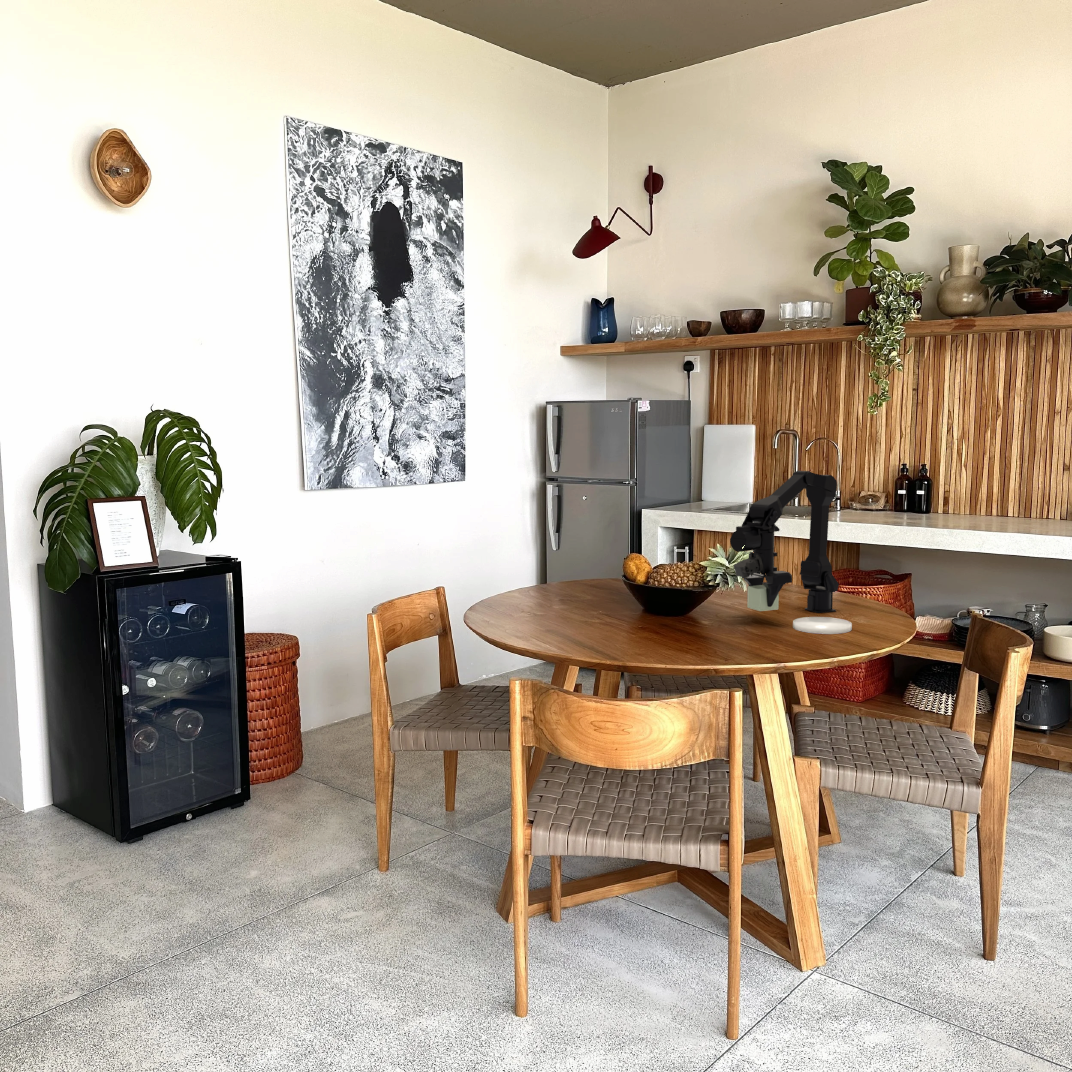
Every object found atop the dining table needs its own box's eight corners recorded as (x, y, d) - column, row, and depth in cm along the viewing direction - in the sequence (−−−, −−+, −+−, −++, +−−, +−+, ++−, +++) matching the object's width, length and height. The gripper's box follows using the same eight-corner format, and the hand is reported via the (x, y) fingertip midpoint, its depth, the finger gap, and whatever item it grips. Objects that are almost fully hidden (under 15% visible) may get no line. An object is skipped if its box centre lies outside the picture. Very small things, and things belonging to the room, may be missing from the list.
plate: (826, 620, 269) (827, 615, 269) (863, 630, 255) (864, 625, 255) (781, 625, 263) (781, 619, 263) (816, 636, 249) (816, 630, 249)
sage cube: (765, 605, 272) (765, 584, 271) (778, 609, 267) (778, 587, 266) (747, 607, 270) (747, 586, 269) (759, 611, 264) (760, 589, 264)
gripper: (719, 546, 272) (719, 601, 274) (758, 554, 255) (757, 613, 257) (753, 544, 276) (752, 598, 278) (793, 551, 259) (792, 609, 261)
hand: (762, 604), depth 268 cm, fingers closed on sage cube, 6 cm apart
